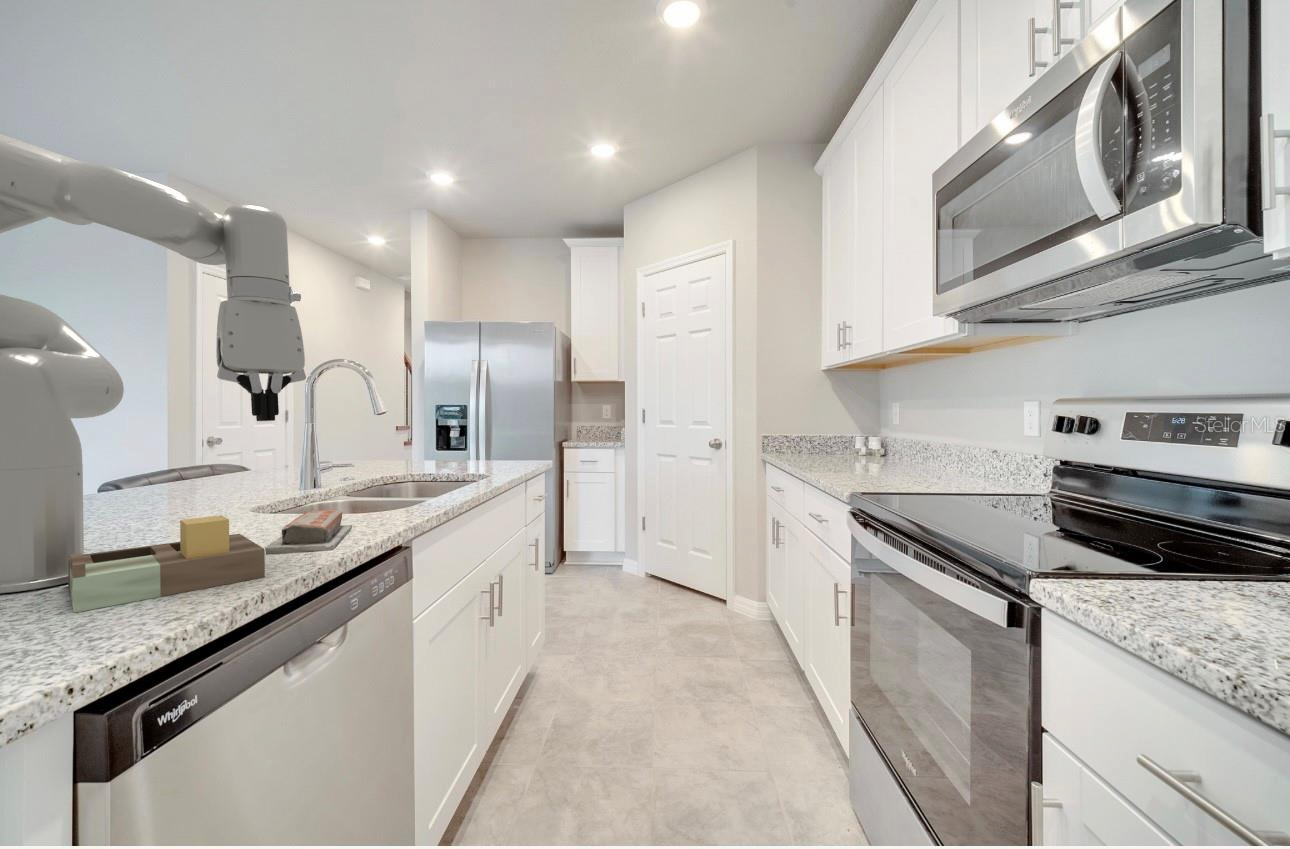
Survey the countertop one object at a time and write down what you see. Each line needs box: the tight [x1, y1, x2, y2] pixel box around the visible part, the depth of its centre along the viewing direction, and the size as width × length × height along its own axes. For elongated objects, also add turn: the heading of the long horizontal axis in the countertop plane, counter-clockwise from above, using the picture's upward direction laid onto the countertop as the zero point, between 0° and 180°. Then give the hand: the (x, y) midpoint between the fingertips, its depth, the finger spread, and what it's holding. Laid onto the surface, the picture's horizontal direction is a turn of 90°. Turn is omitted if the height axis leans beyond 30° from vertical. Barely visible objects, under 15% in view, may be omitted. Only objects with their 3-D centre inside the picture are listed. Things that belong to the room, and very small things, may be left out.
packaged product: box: [264, 509, 353, 555], centre depth 98 cm, size 18×5×10 cm
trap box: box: [67, 533, 266, 614], centre depth 74 cm, size 14×18×6 cm
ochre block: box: [179, 515, 230, 559], centre depth 74 cm, size 4×4×4 cm
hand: (265, 420), depth 79 cm, fingers closed
